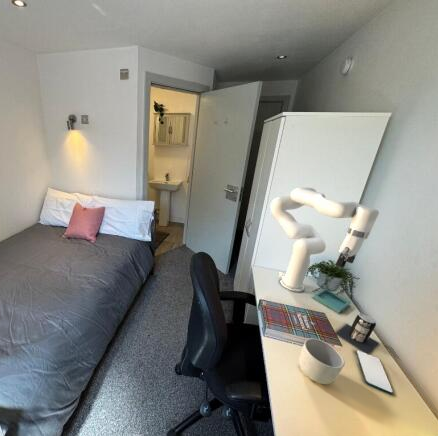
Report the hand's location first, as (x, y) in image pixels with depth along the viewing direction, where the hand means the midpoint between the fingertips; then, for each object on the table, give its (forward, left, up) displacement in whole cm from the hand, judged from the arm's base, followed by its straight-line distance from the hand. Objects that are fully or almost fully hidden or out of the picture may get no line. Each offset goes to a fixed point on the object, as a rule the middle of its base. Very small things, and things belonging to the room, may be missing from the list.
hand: (344, 264), depth 113 cm
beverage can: (+17, -8, -28) cm, 34 cm away
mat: (+17, -8, -28) cm, 34 cm away
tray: (-1, +10, -28) cm, 30 cm away
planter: (+16, -44, -28) cm, 55 cm away
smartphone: (+27, -22, -28) cm, 45 cm away
